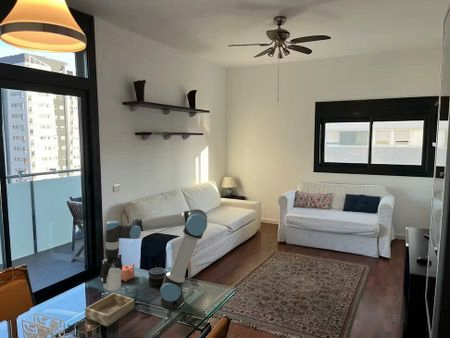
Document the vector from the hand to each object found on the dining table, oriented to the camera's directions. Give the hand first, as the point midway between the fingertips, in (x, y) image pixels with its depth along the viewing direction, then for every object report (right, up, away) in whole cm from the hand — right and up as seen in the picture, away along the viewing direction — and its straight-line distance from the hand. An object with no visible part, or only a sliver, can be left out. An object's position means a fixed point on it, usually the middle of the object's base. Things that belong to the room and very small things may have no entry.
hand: (111, 285), depth 189 cm
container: (+18, -15, +43) cm, 49 cm away
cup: (0, -1, 0) cm, 1 cm away
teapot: (-6, -13, +48) cm, 51 cm away
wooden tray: (-1, -17, +1) cm, 17 cm away
